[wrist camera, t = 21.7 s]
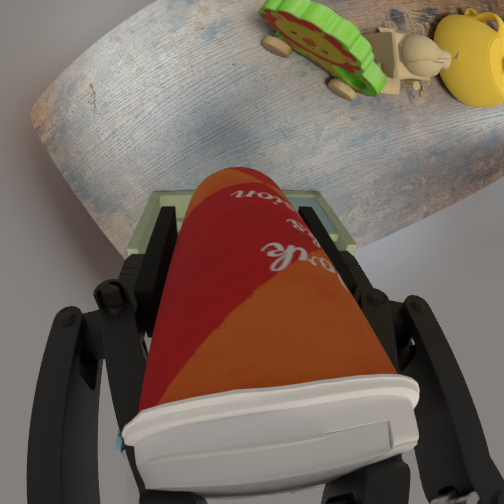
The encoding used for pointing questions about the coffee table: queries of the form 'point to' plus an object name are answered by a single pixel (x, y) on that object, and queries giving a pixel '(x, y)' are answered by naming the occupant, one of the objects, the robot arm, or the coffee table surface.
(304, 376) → the coffee cup
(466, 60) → the teapot
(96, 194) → the coffee table surface
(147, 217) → the window frame
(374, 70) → the toy lion
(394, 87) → the robot
